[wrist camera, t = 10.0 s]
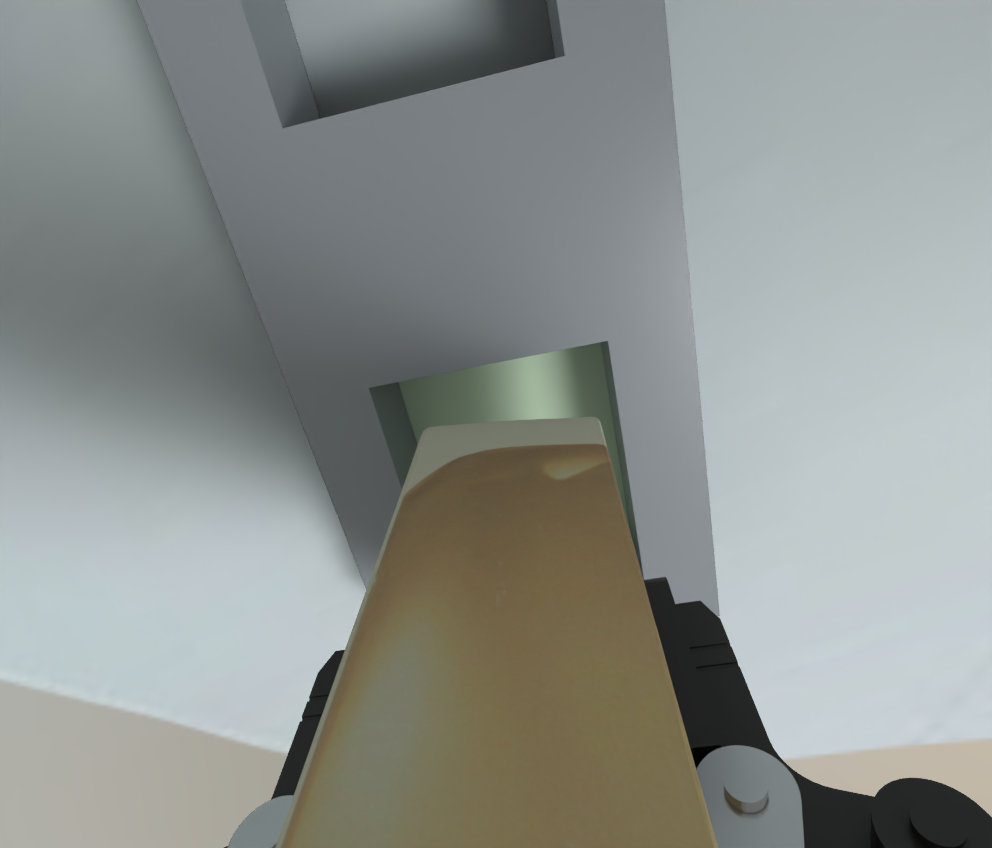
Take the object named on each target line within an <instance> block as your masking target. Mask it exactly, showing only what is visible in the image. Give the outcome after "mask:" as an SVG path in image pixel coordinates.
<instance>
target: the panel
mask: <svg viewBox="0 0 992 848" xmlns="http://www.w3.org/2000/svg"><path fill="white" fill-rule="evenodd" d="M546 1H547V7H548V14H549V20H550V27H551V33H552V39H553V46H554V52H555V59H551V60H547V61H543V62H539V63H535V64H531V65H527V66H523V67H520V68H516V69H512V70H508V71H504V72H500V73H496V74H492V75H488V76H485V77H481V78H477V79H473V80H469V81H465V82H461V83H457V84H453V85H450V86H446V87H442V88H438V89H434V90H430V91H426V92H422V93H418V94H415V95H411V96H407V97H403V98H399V99H395V100H391V101H387V102H383V103H380V104H376V105H372V106H368V107H364V108H360V109H356V110H352V111H348V112H345V113H341V114H337V115H333V116H329V117H325V118H321V119H320V115H319V112H318V109H317V105H316V102H315V99H314V96H313V92H312V89H311V86H310V83H309V79H308V76H307V73H306V69H305V66H304V63H303V60H302V56H301V53H300V50H299V47H298V43H297V40H296V37H295V34H294V30H293V27H292V24H291V20H290V17H289V14H288V11H287V7H286V4H285V1H284V0H137V2H138V5H139V7H140V10H141V12H142V15H143V18H144V20H145V23H146V25H147V28H148V30H149V33H150V36H151V38H152V41H153V43H154V46H155V48H156V51H157V54H158V56H159V59H160V61H161V64H162V66H163V69H164V71H165V74H166V77H167V79H168V82H169V84H170V87H171V89H172V92H173V95H174V97H175V100H176V102H177V105H178V107H179V110H180V113H181V115H182V118H183V120H184V123H185V125H186V128H187V130H188V133H189V136H190V138H191V141H192V143H193V146H194V148H195V151H196V154H197V156H198V159H199V161H200V164H201V166H202V169H203V172H204V174H205V177H206V179H207V182H208V184H209V187H210V189H211V192H212V195H213V197H214V200H215V202H216V205H217V207H218V210H219V213H220V215H221V218H222V220H223V223H224V225H225V228H226V231H227V233H228V236H229V238H230V241H231V243H232V246H233V248H234V251H235V254H236V256H237V259H238V261H239V264H240V266H241V269H242V272H243V274H244V277H245V279H246V282H247V284H248V287H249V290H250V292H251V295H252V297H253V300H254V302H255V305H256V308H257V310H258V313H259V315H260V318H261V320H262V323H263V325H264V328H265V331H266V333H267V336H268V338H269V341H270V343H271V346H272V349H273V351H274V354H275V356H276V359H277V361H278V364H279V367H280V369H281V372H282V374H283V377H284V379H285V382H286V384H287V387H288V390H289V392H290V395H291V397H292V400H293V402H294V405H295V408H296V410H297V413H298V415H299V418H300V420H301V423H302V426H303V428H304V431H305V433H306V436H307V438H308V441H309V443H310V446H311V449H312V451H313V454H314V456H315V459H316V461H317V464H318V467H319V469H320V472H321V474H322V477H323V479H324V482H325V485H326V487H327V490H328V492H329V495H330V497H331V500H332V502H333V505H334V508H335V510H336V513H337V515H338V518H339V520H340V523H341V526H342V528H343V531H344V533H345V536H346V538H347V541H348V544H349V546H350V549H351V551H352V554H353V556H354V559H355V561H356V564H357V567H358V569H359V572H360V574H361V577H362V579H363V582H364V585H365V587H366V590H367V587H368V585H369V582H370V579H371V576H372V573H373V570H374V568H375V565H376V562H377V559H378V556H379V553H380V550H381V548H382V545H383V542H384V539H385V536H386V533H387V531H388V528H389V525H390V522H391V520H392V517H393V514H394V511H395V508H396V506H397V503H398V500H399V497H400V494H401V491H402V488H403V485H404V483H405V480H406V477H407V474H408V471H409V468H410V466H411V463H412V460H413V457H414V454H415V451H416V449H417V446H418V443H419V440H420V437H421V435H422V432H423V431H424V430H425V429H427V428H429V427H435V426H445V425H458V424H471V423H484V422H497V421H515V420H533V419H558V418H578V417H596V418H598V419H599V421H600V423H601V426H602V430H603V434H604V437H605V441H606V445H607V448H608V452H609V456H610V460H611V463H612V467H613V471H614V474H615V478H616V481H617V486H618V490H619V494H620V497H621V501H622V505H623V509H624V512H625V516H626V519H627V523H628V526H629V530H630V533H631V537H632V540H633V544H634V547H635V551H636V555H637V558H638V562H639V566H640V569H641V573H642V577H643V580H646V579H653V578H660V577H666V578H667V580H668V583H669V586H670V589H671V592H672V595H673V598H674V602H675V604H679V603H686V602H693V601H702V602H703V603H704V604H705V605H706V606H707V607H708V608H709V609H710V610H711V611H712V612H713V613H714V614H715V615H716V616H720V615H719V604H718V592H717V581H716V570H715V559H714V548H713V537H712V526H711V514H710V503H709V492H708V481H707V470H706V459H705V448H704V436H703V425H702V414H701V403H700V392H699V381H698V370H697V358H696V347H695V336H694V325H693V314H692V303H691V292H690V280H689V269H688V258H687V247H686V236H685V225H684V214H683V202H682V191H681V180H680V169H679V158H678V147H677V136H676V124H675V113H674V102H673V91H672V80H671V69H670V58H669V46H668V35H667V24H666V13H665V2H664V0H546Z"/></svg>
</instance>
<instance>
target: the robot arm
mask: <svg viewBox="0 0 992 848" xmlns="http://www.w3.org/2000/svg"><path fill="white" fill-rule="evenodd" d="M644 584H645V587H646V591H647V595H648V599H649V603H650V606H651V610H652V613H653V617H654V620H655V624H656V627H657V630H658V634H659V637H660V641H661V644H662V648H663V652H664V655H665V659H666V663H667V666H668V670H669V674H670V677H671V681H672V685H673V688H674V692H675V695H676V699H677V702H678V706H679V710H680V713H681V717H682V720H683V724H684V727H685V731H686V735H687V738H688V742H689V746H690V749H691V753H692V756H693V760H694V764H695V767H696V771H697V774H698V778H699V781H700V785H701V789H702V792H703V796H704V799H705V803H706V806H707V810H708V813H709V817H710V820H711V824H712V827H713V831H714V834H715V838H716V841H717V845H718V848H992V817H991V816H990V815H989V814H987V813H986V812H985V810H983V809H982V808H981V807H980V806H979V805H978V804H977V803H975V802H974V801H973V800H971V799H970V798H969V797H967V796H966V795H964V794H962V793H961V792H959V791H957V790H955V789H953V788H951V787H949V786H947V785H944V784H942V783H938V782H935V781H932V780H927V779H921V778H904V779H899V780H896V781H892V782H890V783H888V784H887V785H885V786H883V787H882V788H881V789H880V790H879V792H878V793H877V794H876V796H875V797H872V796H867V795H862V794H857V793H853V792H847V791H842V790H838V789H833V788H829V787H825V786H822V785H820V784H817V783H814V782H812V781H810V780H808V779H806V778H804V777H803V776H801V775H800V774H798V773H797V772H795V771H794V770H793V769H791V768H790V767H789V766H788V765H787V764H786V763H785V762H784V761H783V760H782V759H781V758H780V757H779V756H778V754H777V753H776V751H775V750H774V748H773V747H772V745H771V743H770V741H769V738H768V736H767V733H766V731H765V728H764V726H763V723H762V721H761V719H760V716H759V714H758V711H757V709H756V706H755V704H754V701H753V699H752V696H751V694H750V691H749V689H748V687H747V684H746V682H745V679H744V677H743V674H742V672H741V669H740V667H739V666H738V662H737V659H736V657H735V655H734V652H733V650H732V647H731V646H730V642H729V640H728V637H727V635H726V632H725V630H724V627H723V625H722V622H721V620H720V618H719V617H717V616H716V615H715V614H714V613H713V612H712V611H711V610H710V609H709V608H708V607H707V606H706V605H705V604H704V603H703V602H702V601H693V602H686V603H679V604H675V602H674V598H673V595H672V592H671V589H670V586H669V583H668V580H667V578H666V577H660V578H653V579H646V580H644ZM344 652H345V650H341V651H335V653H334V654H333V655H332V656H331V658H330V659H329V660H328V661H327V663H326V664H325V665H324V666H323V668H322V669H321V670H320V671H319V673H318V675H317V677H316V680H315V683H314V686H313V688H312V691H311V694H310V696H309V698H310V701H309V702H307V704H306V707H305V710H304V713H303V715H302V722H300V723H299V726H298V729H297V731H296V734H295V737H294V740H293V742H292V745H291V748H290V750H289V753H288V756H287V759H286V761H285V764H284V767H283V769H282V772H281V775H280V778H279V780H278V783H277V786H276V788H275V791H274V794H273V797H272V799H271V800H270V801H268V802H265V803H264V804H262V805H261V806H259V807H258V808H257V809H255V810H254V811H253V812H251V813H250V814H249V815H248V816H247V817H246V818H245V820H243V822H242V823H241V824H240V825H239V827H238V828H237V830H236V831H235V833H234V834H233V836H232V838H231V840H230V842H229V845H228V846H227V847H225V848H275V847H276V844H277V841H278V838H279V836H280V833H281V830H282V827H283V824H284V822H285V819H286V816H287V813H288V810H289V808H290V805H291V802H292V799H293V796H294V793H295V791H296V788H297V785H298V782H299V779H300V776H301V773H302V770H303V768H304V765H305V762H306V759H307V756H308V753H309V750H310V748H311V745H312V742H313V739H314V736H315V733H316V730H317V728H318V725H319V722H320V719H321V716H322V714H323V711H324V708H325V705H326V702H327V699H328V697H329V694H330V691H331V688H332V685H333V683H334V680H335V677H336V674H337V671H338V669H339V666H340V663H341V660H342V657H343V654H344Z"/></svg>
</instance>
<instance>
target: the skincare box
mask: <svg viewBox="0 0 992 848" xmlns="http://www.w3.org/2000/svg"><path fill="white" fill-rule="evenodd" d="M275 848H718V845H717V841H716V838H715V834H714V831H713V827H712V824H711V820H710V817H709V813H708V810H707V806H706V803H705V799H704V796H703V792H702V789H701V785H700V781H699V778H698V774H697V771H696V767H695V764H694V760H693V756H692V753H691V749H690V746H689V742H688V738H687V735H686V731H685V727H684V724H683V720H682V717H681V713H680V710H679V706H678V702H677V699H676V695H675V692H674V688H673V685H672V681H671V677H670V674H669V670H668V666H667V663H666V659H665V655H664V652H663V648H662V644H661V641H660V637H659V634H658V630H657V627H656V624H655V620H654V617H653V613H652V610H651V606H650V603H649V599H648V595H647V591H646V587H645V584H644V580H643V577H642V573H641V569H640V566H639V562H638V558H637V555H636V551H635V547H634V544H633V540H632V537H631V533H630V530H629V526H628V523H627V519H626V516H625V512H624V509H623V505H622V501H621V497H620V494H619V490H618V486H617V481H616V478H615V474H614V471H613V467H612V463H611V460H610V456H609V452H608V448H607V445H606V441H605V437H604V434H603V430H602V426H601V423H600V421H599V419H598V418H596V417H578V418H558V419H533V420H515V421H497V422H484V423H471V424H458V425H445V426H435V427H429V428H427V429H425V430H424V431H423V432H422V435H421V437H420V440H419V443H418V446H417V449H416V451H415V454H414V457H413V460H412V463H411V466H410V468H409V471H408V474H407V477H406V480H405V483H404V485H403V488H402V491H401V494H400V497H399V500H398V503H397V506H396V508H395V511H394V514H393V517H392V520H391V522H390V525H389V528H388V531H387V533H386V536H385V539H384V542H383V545H382V548H381V550H380V553H379V556H378V559H377V562H376V565H375V568H374V570H373V573H372V576H371V579H370V582H369V585H368V587H367V590H366V593H365V596H364V599H363V601H362V604H361V607H360V610H359V613H358V615H357V618H356V621H355V624H354V626H353V629H352V632H351V635H350V638H349V640H348V643H347V646H346V649H345V652H344V654H343V657H342V660H341V663H340V666H339V669H338V671H337V674H336V677H335V680H334V683H333V685H332V688H331V691H330V694H329V697H328V699H327V702H326V705H325V708H324V711H323V714H322V716H321V719H320V722H319V725H318V728H317V730H316V733H315V736H314V739H313V742H312V745H311V748H310V750H309V753H308V756H307V759H306V762H305V765H304V768H303V770H302V773H301V776H300V779H299V782H298V785H297V788H296V791H295V793H294V796H293V799H292V802H291V805H290V808H289V810H288V813H287V816H286V819H285V822H284V824H283V827H282V830H281V833H280V836H279V838H278V841H277V844H276V847H275Z"/></svg>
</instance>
